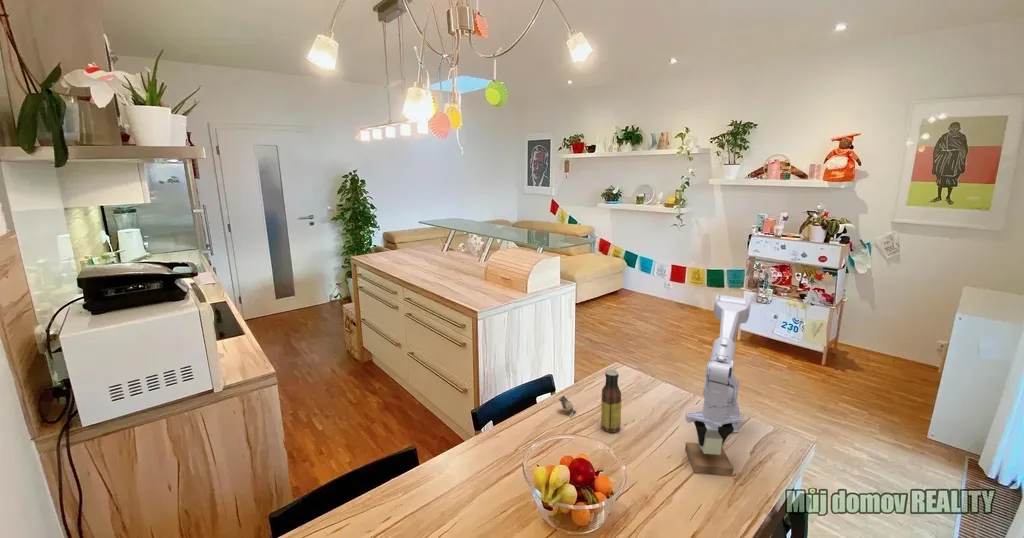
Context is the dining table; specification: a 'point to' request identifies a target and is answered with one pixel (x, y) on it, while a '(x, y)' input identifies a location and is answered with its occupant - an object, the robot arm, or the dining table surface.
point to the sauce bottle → (611, 403)
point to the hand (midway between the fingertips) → (709, 444)
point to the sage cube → (712, 442)
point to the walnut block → (708, 461)
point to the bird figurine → (567, 405)
